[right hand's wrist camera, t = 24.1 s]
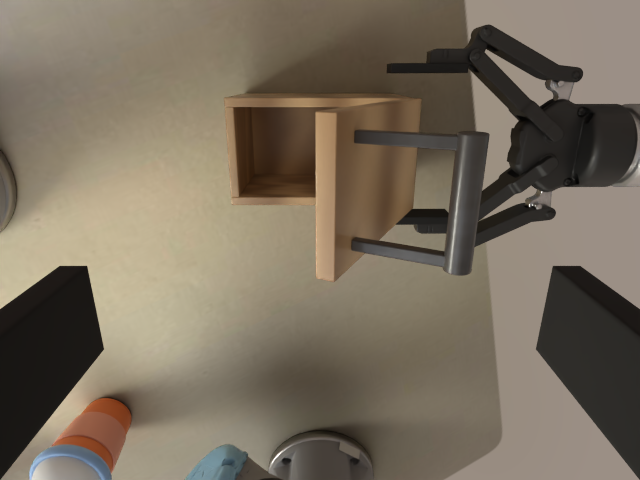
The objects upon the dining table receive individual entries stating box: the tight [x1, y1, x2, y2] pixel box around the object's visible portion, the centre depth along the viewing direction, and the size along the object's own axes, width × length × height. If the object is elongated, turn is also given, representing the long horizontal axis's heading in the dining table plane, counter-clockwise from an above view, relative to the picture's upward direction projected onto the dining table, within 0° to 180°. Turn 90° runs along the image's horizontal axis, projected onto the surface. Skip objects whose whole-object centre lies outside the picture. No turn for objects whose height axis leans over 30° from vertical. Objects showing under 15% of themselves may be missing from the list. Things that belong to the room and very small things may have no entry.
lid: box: [316, 98, 489, 282], centre depth 29 cm, size 16×9×8 cm
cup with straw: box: [29, 398, 131, 480], centre depth 52 cm, size 9×9×18 cm
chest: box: [224, 93, 410, 205], centre depth 43 cm, size 16×9×10 cm, turn 90°
